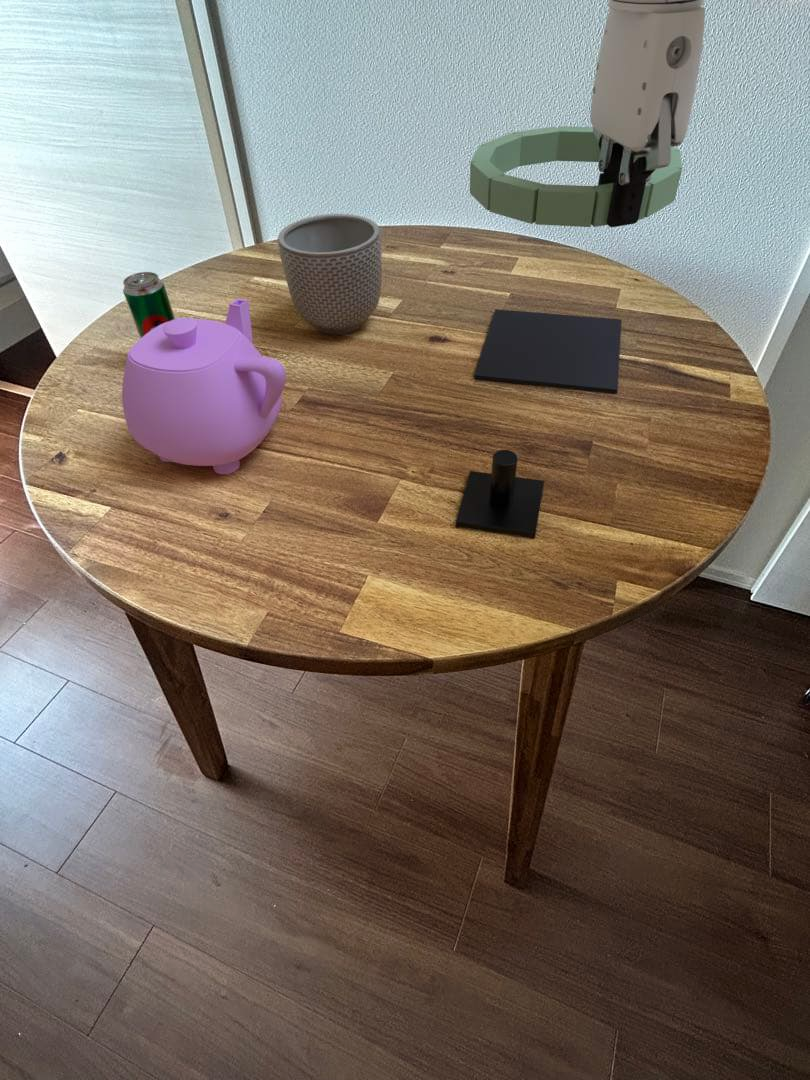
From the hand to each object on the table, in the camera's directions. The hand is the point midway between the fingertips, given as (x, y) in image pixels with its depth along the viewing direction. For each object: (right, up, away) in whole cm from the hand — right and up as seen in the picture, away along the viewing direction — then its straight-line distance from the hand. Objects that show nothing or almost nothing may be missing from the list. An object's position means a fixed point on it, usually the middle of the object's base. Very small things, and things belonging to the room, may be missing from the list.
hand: (615, 218), depth 66 cm
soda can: (-54, -8, +24) cm, 60 cm away
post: (-11, -29, +2) cm, 31 cm away
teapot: (-42, -20, +12) cm, 48 cm away
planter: (-31, -1, +30) cm, 43 cm away
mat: (-2, -7, +22) cm, 24 cm away
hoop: (-3, +7, +7) cm, 10 cm away
